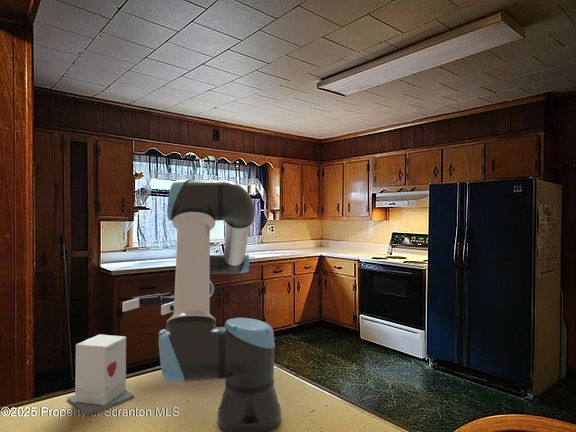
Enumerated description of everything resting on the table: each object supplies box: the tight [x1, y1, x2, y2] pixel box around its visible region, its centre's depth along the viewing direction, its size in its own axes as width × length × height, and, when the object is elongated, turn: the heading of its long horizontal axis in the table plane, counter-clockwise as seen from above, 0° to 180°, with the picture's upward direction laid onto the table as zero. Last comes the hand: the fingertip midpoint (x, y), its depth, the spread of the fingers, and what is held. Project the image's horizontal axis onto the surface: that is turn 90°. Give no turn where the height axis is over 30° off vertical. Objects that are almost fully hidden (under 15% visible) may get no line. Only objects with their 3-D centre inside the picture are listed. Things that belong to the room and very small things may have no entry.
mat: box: [67, 390, 136, 416], centre depth 103 cm, size 12×12×1 cm
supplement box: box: [74, 333, 127, 406], centre depth 103 cm, size 9×9×15 cm
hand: (142, 308), depth 114 cm, fingers open, 13 cm apart
